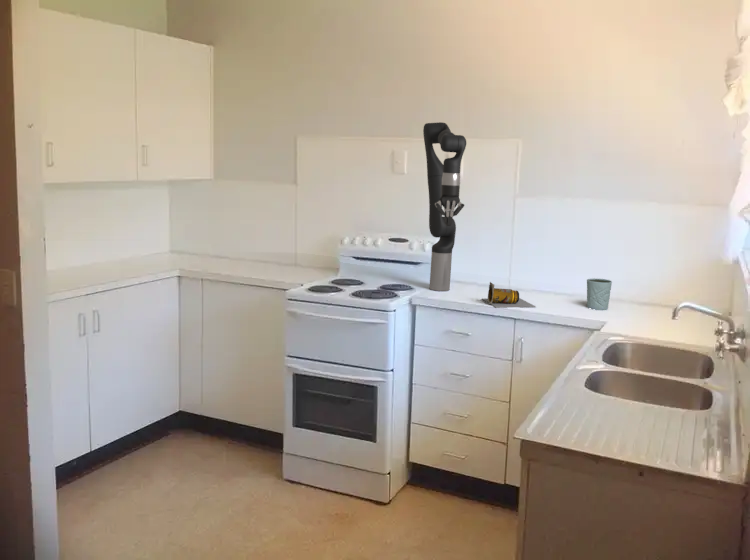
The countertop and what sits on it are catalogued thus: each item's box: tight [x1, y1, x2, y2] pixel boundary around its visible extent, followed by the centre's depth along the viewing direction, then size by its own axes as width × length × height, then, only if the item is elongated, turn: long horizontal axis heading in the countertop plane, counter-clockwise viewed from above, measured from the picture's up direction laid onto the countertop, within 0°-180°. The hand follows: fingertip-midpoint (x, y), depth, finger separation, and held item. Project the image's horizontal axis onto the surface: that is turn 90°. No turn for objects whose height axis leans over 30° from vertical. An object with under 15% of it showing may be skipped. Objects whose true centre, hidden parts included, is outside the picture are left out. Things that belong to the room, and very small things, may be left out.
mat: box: [481, 297, 537, 309], centre depth 323 cm, size 16×18×1 cm
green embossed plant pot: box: [586, 277, 613, 311], centre depth 320 cm, size 10×10×12 cm
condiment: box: [487, 281, 520, 304], centre depth 320 cm, size 7×8×12 cm
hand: (448, 225), depth 316 cm, fingers closed
